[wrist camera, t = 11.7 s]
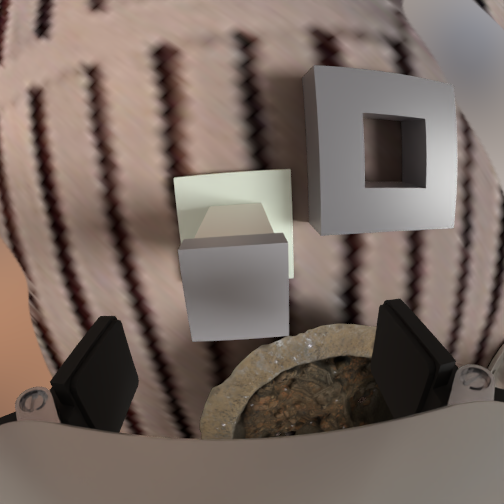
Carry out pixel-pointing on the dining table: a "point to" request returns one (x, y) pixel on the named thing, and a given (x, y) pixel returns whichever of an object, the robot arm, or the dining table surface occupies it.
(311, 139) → the grey square ring
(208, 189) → the coaster
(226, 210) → the plug
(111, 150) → the dining table surface
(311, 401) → the stone bowl
